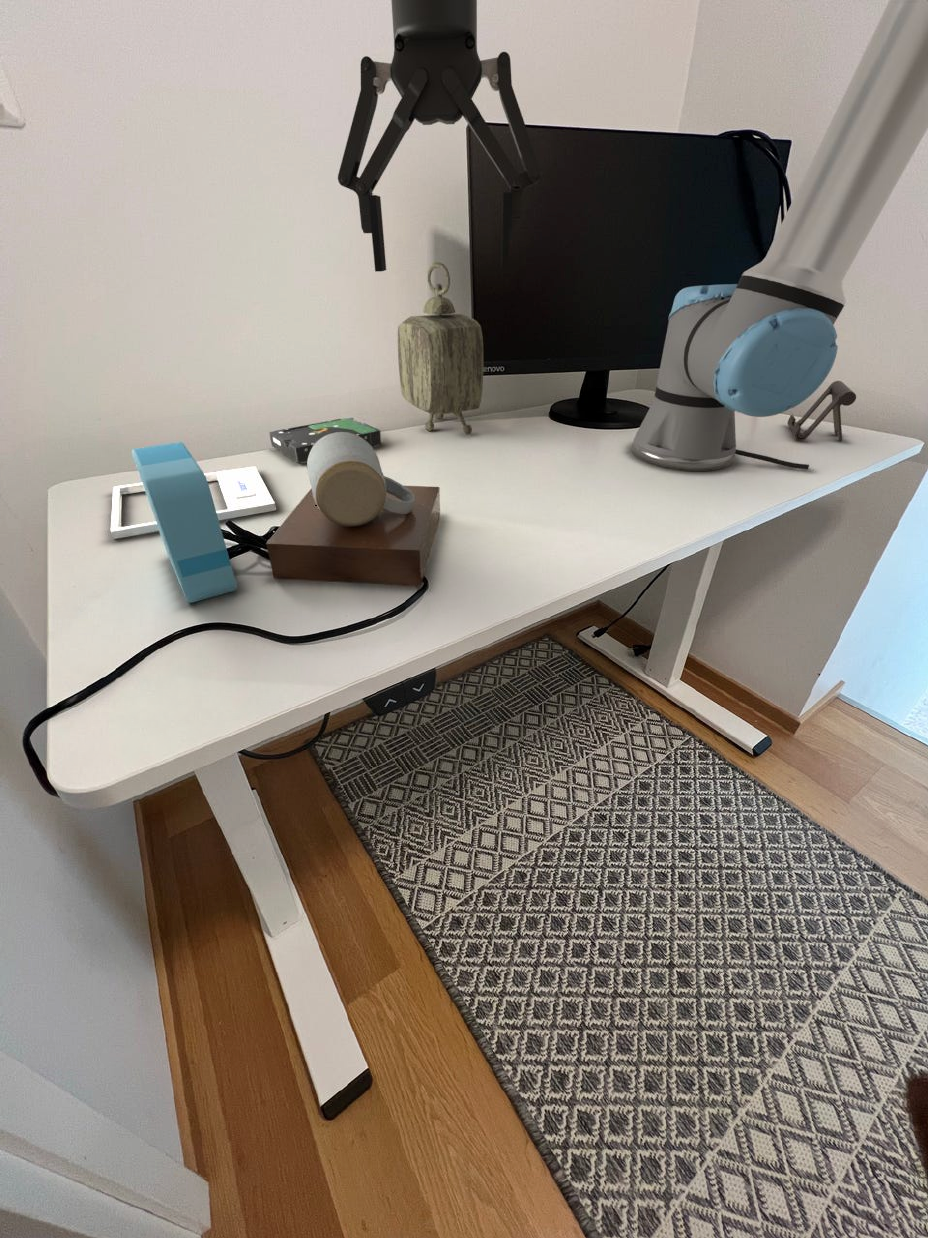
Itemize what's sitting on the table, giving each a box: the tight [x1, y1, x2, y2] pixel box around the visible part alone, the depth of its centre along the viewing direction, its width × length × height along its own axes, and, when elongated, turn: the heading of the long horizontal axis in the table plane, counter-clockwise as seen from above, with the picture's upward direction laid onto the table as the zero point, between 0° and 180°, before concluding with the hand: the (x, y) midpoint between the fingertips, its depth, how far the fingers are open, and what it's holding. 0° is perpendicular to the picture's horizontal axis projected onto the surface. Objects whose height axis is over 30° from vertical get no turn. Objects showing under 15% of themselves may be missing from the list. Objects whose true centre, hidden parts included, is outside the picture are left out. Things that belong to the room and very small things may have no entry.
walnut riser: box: [265, 485, 441, 587], centre depth 60 cm, size 15×16×4 cm
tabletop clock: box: [397, 261, 485, 435], centre depth 90 cm, size 14×9×25 cm, turn 30°
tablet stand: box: [786, 380, 857, 442], centre depth 93 cm, size 9×8×8 cm
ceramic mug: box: [306, 432, 415, 527], centre depth 56 cm, size 11×8×8 cm
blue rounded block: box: [131, 441, 238, 604], centre depth 52 cm, size 12×4×12 cm, turn 33°
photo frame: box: [110, 466, 277, 540], centre depth 70 cm, size 15×1×18 cm
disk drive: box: [268, 417, 382, 464], centre depth 88 cm, size 10×3×15 cm
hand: (442, 270), depth 59 cm, fingers open, 13 cm apart
